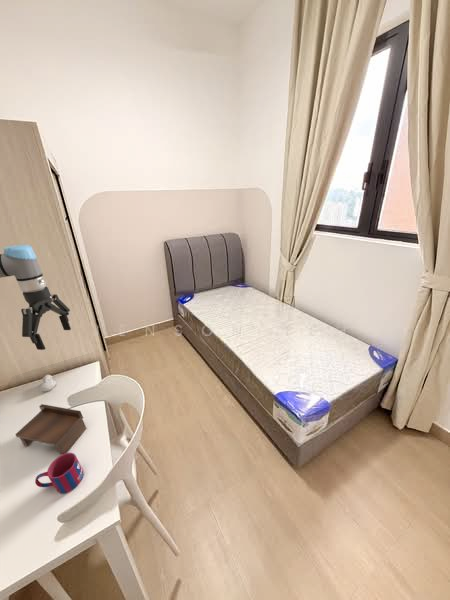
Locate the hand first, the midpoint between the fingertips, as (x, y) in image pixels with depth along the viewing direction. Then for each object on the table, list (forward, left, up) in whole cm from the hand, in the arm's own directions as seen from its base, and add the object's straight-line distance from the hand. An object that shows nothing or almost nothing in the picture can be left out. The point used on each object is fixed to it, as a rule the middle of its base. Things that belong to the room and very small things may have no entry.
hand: (55, 338), depth 94 cm
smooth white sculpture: (-8, -4, -22) cm, 24 cm away
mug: (+29, -34, -22) cm, 50 cm away
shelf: (+15, -23, -22) cm, 35 cm away
